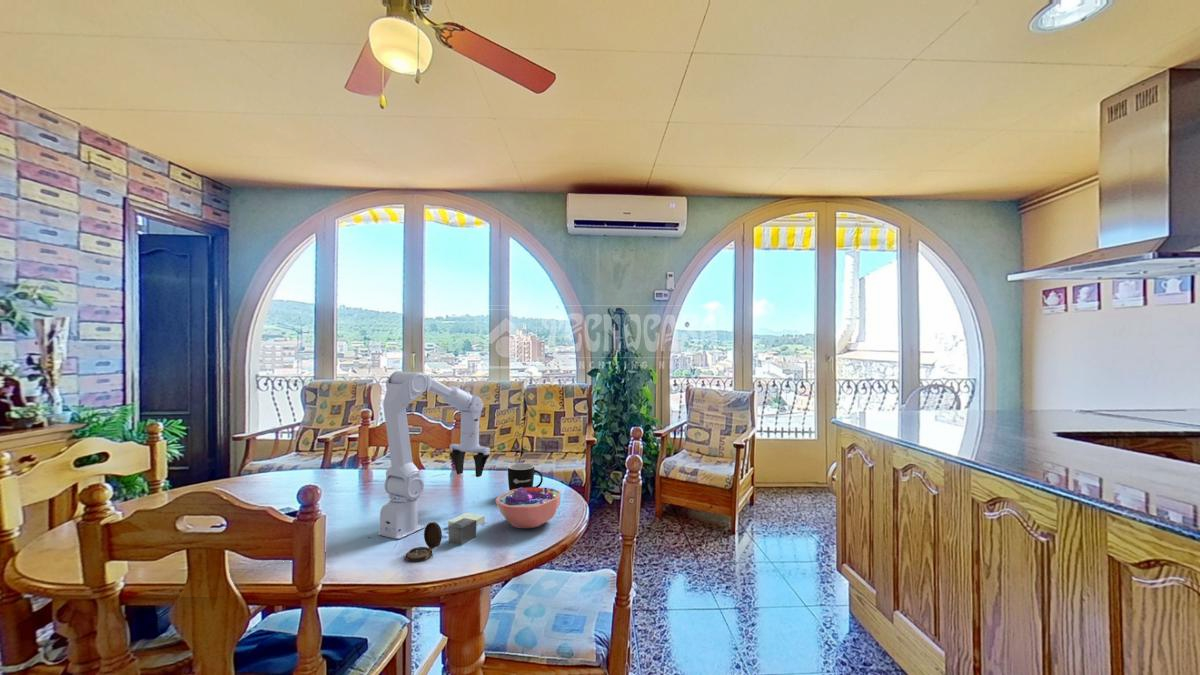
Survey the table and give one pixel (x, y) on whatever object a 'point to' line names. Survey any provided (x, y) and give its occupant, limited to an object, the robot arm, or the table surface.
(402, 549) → the table surface
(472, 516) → the stand
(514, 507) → the cell model
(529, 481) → the mug
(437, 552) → the table surface
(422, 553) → the compass
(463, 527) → the block
